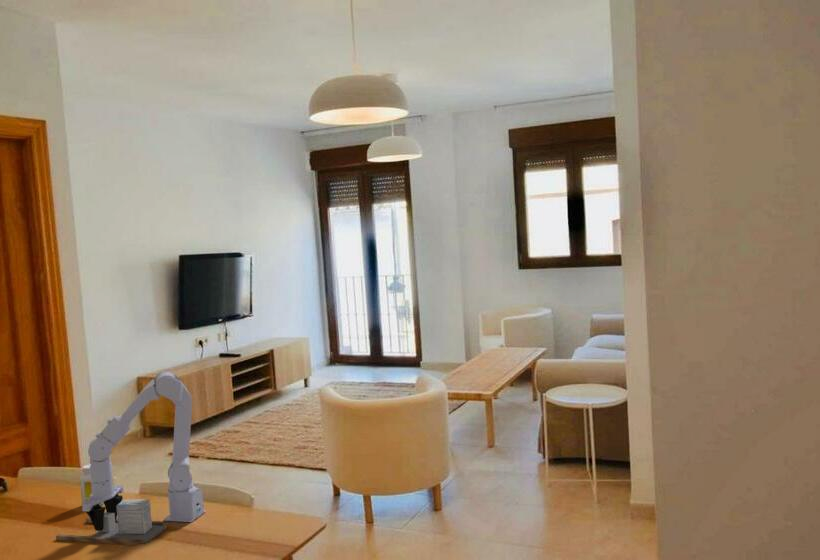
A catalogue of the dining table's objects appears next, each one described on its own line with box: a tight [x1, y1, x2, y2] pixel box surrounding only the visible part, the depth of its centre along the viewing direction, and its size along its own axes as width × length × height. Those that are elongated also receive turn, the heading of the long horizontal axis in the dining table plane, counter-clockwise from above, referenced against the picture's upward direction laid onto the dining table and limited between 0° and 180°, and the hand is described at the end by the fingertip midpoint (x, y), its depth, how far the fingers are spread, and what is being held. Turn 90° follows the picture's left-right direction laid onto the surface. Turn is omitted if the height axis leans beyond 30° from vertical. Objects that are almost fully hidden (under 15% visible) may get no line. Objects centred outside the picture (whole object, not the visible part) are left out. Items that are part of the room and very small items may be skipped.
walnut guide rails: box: [55, 516, 164, 546], centre depth 185 cm, size 26×13×1 cm, turn 76°
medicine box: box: [116, 498, 153, 534], centre depth 183 cm, size 8×4×9 cm, turn 84°
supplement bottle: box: [79, 463, 104, 506], centre depth 207 cm, size 7×7×13 cm
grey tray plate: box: [91, 512, 167, 544], centre depth 183 cm, size 18×9×5 cm, turn 76°
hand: (105, 526), depth 185 cm, fingers open, 5 cm apart
